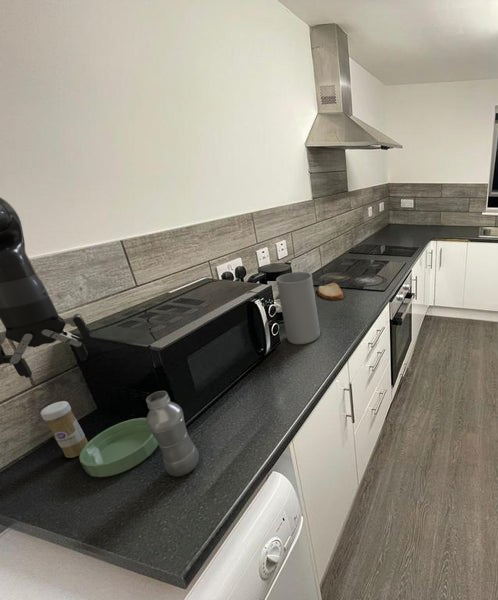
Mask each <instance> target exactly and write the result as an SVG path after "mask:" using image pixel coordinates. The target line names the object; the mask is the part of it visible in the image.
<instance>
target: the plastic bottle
mask: <svg viewBox="0 0 498 600" xmlns="http://www.w3.org/2000/svg"><path fill="white" fill-rule="evenodd" d="M145 402H146V404H147V408H148V410H149V411H148V413H147V416H146V417H145V418H146V425H147V427H148V429H149V430H150V432H151V433H152V434H153V436H154V437H155V439H156V441H157V442H158V446H159V449H160V452H161V455H162V459H163V460H162V462H163V467H164V470H165V471H166V472H167V473H168V475H170V476H172V477H184V476H186V475H187V474H189V473H191V472H192V471H193V470H195V468H196V467H197V465H198V463H199V461H200V453H199V450H198V448H197V446H196V445H195V444H194V443H193V441H192V439H191V437H190V435H189V433H188V432H189V431H188V430H187V426H186V421H185V415H184V411H183V408H182V407H181V406H180V405H179V404H178V403H176V402H173V401H171V397H170V396H169V393H168V392H167V391H166V390H159V391H155V392H153V393H151V394H149V395H148V396H147V397H146V399H145Z"/></svg>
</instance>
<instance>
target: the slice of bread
mask: <svg viewBox="0 0 498 600" xmlns="http://www.w3.org/2000/svg"><path fill="white" fill-rule="evenodd" d="M317 294H318V296H319V297H321V298H323V299H326V300H331V301H338V300H342V299H344V297H345V296H344V292H343V290H342V289H341V287H340V286H339V285H338V284H337V283H336V282H330V283H328V284H325V285H319V286H318V287H317Z"/></svg>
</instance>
